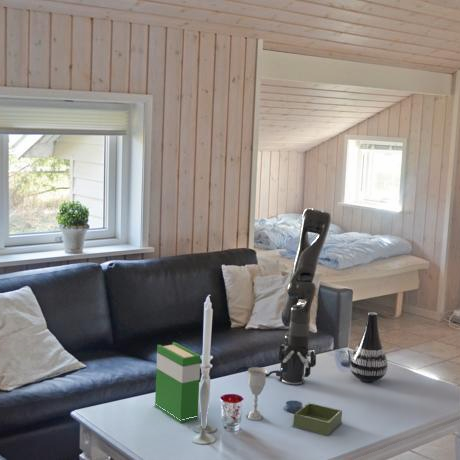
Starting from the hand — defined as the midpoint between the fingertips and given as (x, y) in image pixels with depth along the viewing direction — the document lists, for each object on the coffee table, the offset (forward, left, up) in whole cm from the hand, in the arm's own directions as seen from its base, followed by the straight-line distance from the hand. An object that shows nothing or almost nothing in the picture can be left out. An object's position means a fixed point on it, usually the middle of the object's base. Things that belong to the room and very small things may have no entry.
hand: (296, 374), depth 294 cm
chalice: (-9, -15, -14) cm, 23 cm away
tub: (+13, -8, -14) cm, 21 cm away
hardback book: (-35, -28, -14) cm, 47 cm away
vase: (+13, +48, -14) cm, 52 cm away
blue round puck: (0, 0, -14) cm, 14 cm away
